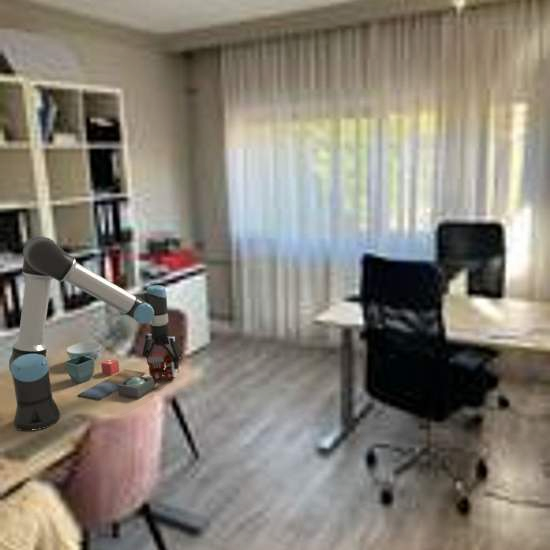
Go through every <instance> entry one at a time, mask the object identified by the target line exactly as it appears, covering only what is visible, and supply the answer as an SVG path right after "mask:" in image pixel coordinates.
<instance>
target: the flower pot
mask: <svg viewBox="0 0 550 550" xmlns="http://www.w3.org/2000/svg"><path fill="white" fill-rule="evenodd" d="M64 365H65V369H66V372H67V374H68V376H69V377H70V379H71V380H72V381H73V382H77V383H79V384H81V383H84V382H87V381H89V380H91V379H92V377H93V375H94V372H95V361H94V359H93V358H89V357H86V356H79V357H76V358H73V359H69V360H66V361H64Z"/></svg>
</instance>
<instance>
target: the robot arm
mask: <svg viewBox="0 0 550 550" xmlns="http://www.w3.org/2000/svg"><path fill="white" fill-rule="evenodd" d="M22 254H23V255H22V256H23V263H22V270H21V272H22V274H23V275H24V276H25V284H24V291H23V297H22V298H23V299H22V307H21V316H20V322H19V323H20V324H19V332H18V339H17V341H16V342H15V343H13V344H12V349H11V350H12V351H11V356H10V357H9V361H8V363H9V364H8V367H9V371H10V373H11V378H12V382H13V386H14V393H15V399H16V400H15V401H16V410H15V415H14V419H13V424H14V427H16V428H18V429H21V430H20V431H22V430H32V429H39V428H43V427H46V428H48V427H47V426H49V427H51V426H52V425H51V424H53V425H55V424H56V423H58V422H59V421H60V419H61V414H60V410H59V407H58V405H57V404H56V402H55V400H54V399H53V393H52V385H51V379H50V372H49V371H50V370H49V367H50V366H49V363H48V360H47V357H46V356H47V349H48V347H47V346H46V344H45V343H44V337H45V330H46V321H47V315H48V309H49V308H48V307H49V306H48V305H49V299H50V291H51V284H52V281H53V279H55V280H56V281H58V282H60V283H61V282H66V283H68V284H70V285H72V286H73V287H75V288H78V290H81V291H82V292H85V293H86V294H88V295H90V296H92V297H94V298H96V299H97V300H100V301H101V302H103V303H104V304H106V305H109V306H110V307H112V308H114V309H115V310H117V312H118V314H119V316H128V317H130V318H131V319H133V320H135V321H136V322H137V323H140V324H142V325H144V324H148V323H149V324H150V325H149V330H150V333H148V334H145V335H144V336H145V340H144V346H143V350H142V356H143V357H145V358H146V359H147V356H149V355H154V352H155V351H156V348H157V347H158V346H160V347H163V349H165V350H166V352H167V353H168V354H169V355H170V357H171V359H172V360H173V361H172V362H171V364H172V376H173V377H174V378H175V377H177V376H178V375H179V373H178V368H179V367H180V366H179V365H180V364H179V361H181V360H183V356H182V354H181V351H180V347H179V345H178V343H177V337H176V335H175V336H170V335H169V333H170V324H169V313H168V312H169V311H168V299H167V297H168V296H167V291H166V287H165V286H164V285H151V286H148V287H147V288H146V291H145V292H143V293H137V294H132V293H130V292H128V291H127V290H125V289H124V288H121V287H120V286H118V285H117V284H115V283H113V282H111V281H110V280H109V279H107V278H104V277H102V276H101V275H99V274H97V273H96V272H93V270H90V269H88V268H87V267H85V266H83V265H81V264H80V263H78V262H77V261H76V258H75V257H73V256H71V255H70V254H69V253H67V252H66V251H65V250H64V249H62V248H61V247H60V246H59V245H58V244H57V243H56V242H55V240H53V239H51V238H50V237H47V236H46V237H45V236H35V237H32V238H30V239H29V240H28V241H27V242H26V243H25V245H24V246H23V249H22ZM146 364H147V365H148V366H149V363H148V362H147V361H146ZM54 423H55V424H54ZM50 425H51V426H50ZM16 428H15V429H16ZM18 429H17V430H18ZM43 429H44V428H43ZM39 430H40V429H39Z"/></svg>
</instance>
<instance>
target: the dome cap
mask: <svg viewBox="0 0 550 550" xmlns="http://www.w3.org/2000/svg"><path fill="white" fill-rule="evenodd" d="M143 383H145V380H144V379H141V378H139V377H132V378H131V379H130V380H129V381H127V382H126V384H127V385H129V386H135V387H138V386H139V385H141V384H143Z"/></svg>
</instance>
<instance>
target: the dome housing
mask: <svg viewBox="0 0 550 550" xmlns="http://www.w3.org/2000/svg"><path fill="white" fill-rule="evenodd" d="M132 377H139V378H141V379H144V380H145V383H143V384H141V385H139V386H138V387H135V386H129V385H127V384H126V382H127V381H129V380H130V379H131V378H132ZM132 377H130V378H128V379H126V380H125V381H123V382H121V383H119V384H117V396H118V397H124V398H129V399H136V400H139V399H141V398H143V397H144V396H146V395H148V394H150V393H151V392H153V391H155V389H156V388H155V381H154V379H153V378H152V377H146V376H141V377H140V376H132Z"/></svg>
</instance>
